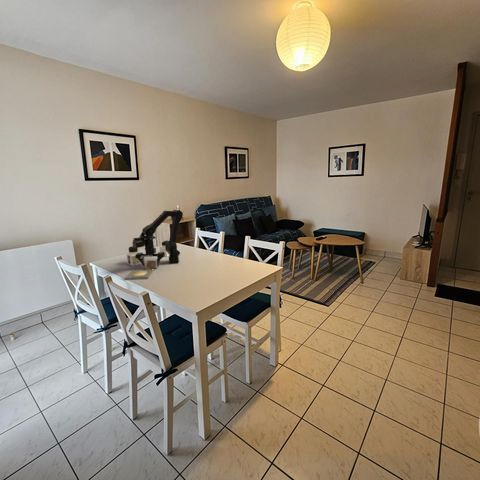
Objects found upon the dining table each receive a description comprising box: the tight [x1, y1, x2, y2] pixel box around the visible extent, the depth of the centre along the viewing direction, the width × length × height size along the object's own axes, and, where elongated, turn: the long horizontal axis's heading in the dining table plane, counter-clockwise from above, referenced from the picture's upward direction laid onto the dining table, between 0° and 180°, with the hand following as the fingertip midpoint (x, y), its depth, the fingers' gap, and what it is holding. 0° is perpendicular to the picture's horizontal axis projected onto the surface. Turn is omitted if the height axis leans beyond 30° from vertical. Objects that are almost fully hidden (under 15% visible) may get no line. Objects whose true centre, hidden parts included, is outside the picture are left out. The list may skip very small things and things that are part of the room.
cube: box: [145, 260, 157, 270], centre depth 182 cm, size 5×5×5 cm
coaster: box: [124, 269, 154, 281], centre depth 169 cm, size 14×14×1 cm
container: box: [125, 245, 142, 267], centre depth 191 cm, size 8×8×13 cm
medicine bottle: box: [159, 240, 170, 258], centre depth 212 cm, size 7×7×12 cm
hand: (151, 266), depth 182 cm, fingers open, 9 cm apart
